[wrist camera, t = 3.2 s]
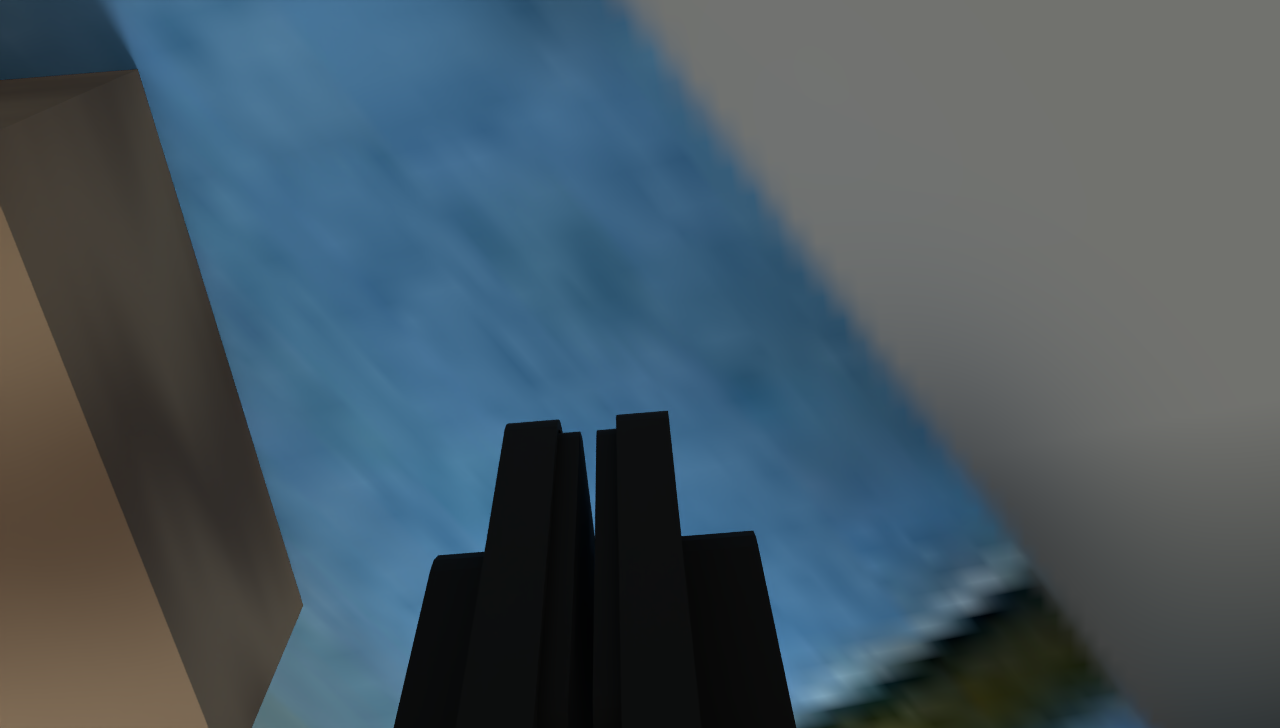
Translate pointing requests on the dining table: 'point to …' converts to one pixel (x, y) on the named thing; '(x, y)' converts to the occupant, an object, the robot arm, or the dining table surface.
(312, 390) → the dining table surface
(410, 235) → the dining table surface
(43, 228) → the t block
